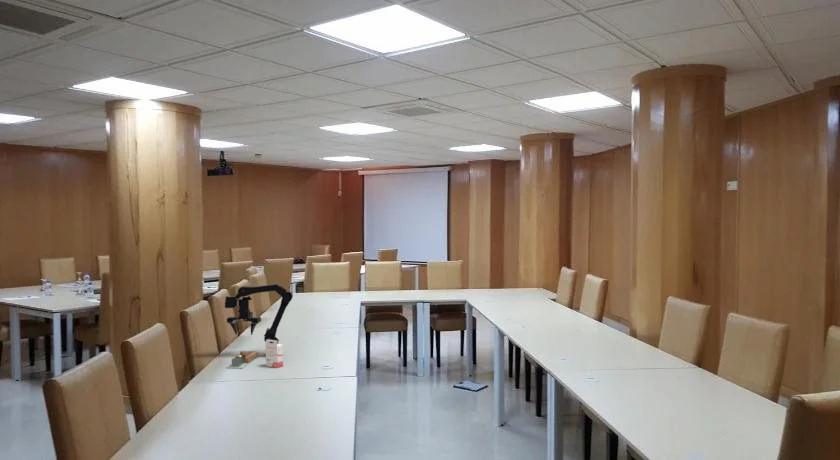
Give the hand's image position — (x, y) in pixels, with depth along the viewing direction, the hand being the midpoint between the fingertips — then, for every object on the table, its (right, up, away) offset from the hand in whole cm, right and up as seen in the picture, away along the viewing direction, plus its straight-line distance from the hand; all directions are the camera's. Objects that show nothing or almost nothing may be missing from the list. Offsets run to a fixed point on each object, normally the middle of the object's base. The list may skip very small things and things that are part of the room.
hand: (244, 334), depth 332 cm
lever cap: (+3, -13, -22) cm, 26 cm away
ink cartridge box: (+23, -13, -22) cm, 35 cm away
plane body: (+4, -13, -8) cm, 16 cm away
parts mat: (+3, -13, -22) cm, 26 cm away
